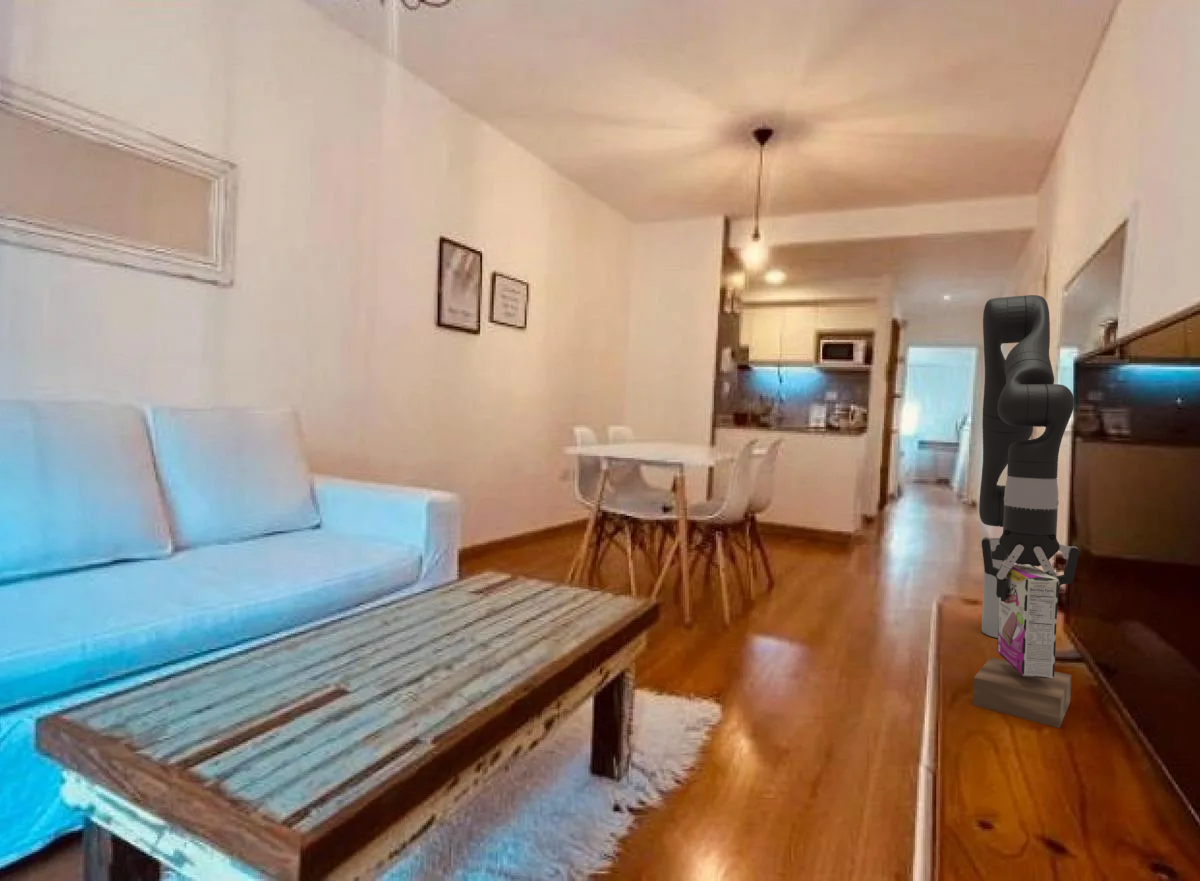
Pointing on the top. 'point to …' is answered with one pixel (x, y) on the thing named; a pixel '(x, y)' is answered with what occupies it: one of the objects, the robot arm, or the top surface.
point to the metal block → (1022, 693)
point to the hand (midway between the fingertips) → (1026, 603)
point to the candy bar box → (1029, 621)
